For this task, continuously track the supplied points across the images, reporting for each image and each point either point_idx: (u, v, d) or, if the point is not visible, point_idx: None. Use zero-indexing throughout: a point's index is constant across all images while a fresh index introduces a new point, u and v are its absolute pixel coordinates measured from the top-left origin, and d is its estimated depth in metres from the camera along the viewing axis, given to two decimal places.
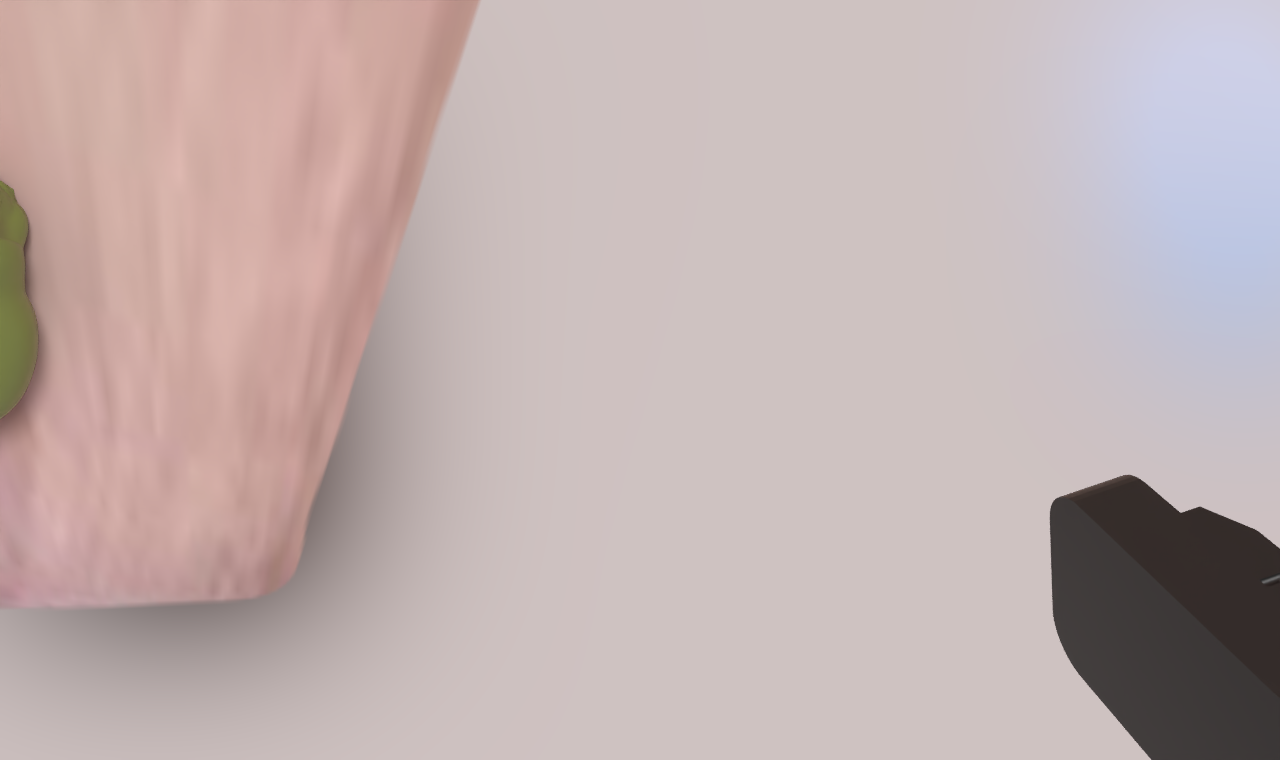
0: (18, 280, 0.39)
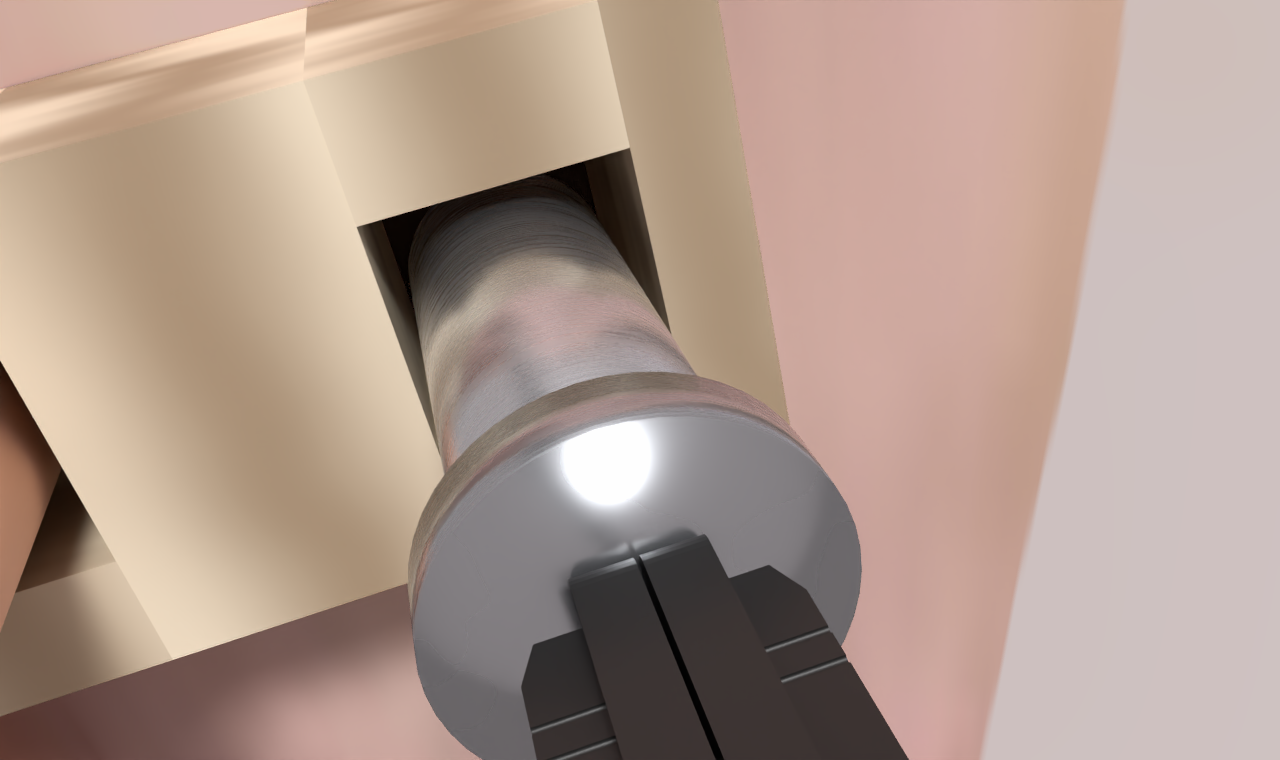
0: None
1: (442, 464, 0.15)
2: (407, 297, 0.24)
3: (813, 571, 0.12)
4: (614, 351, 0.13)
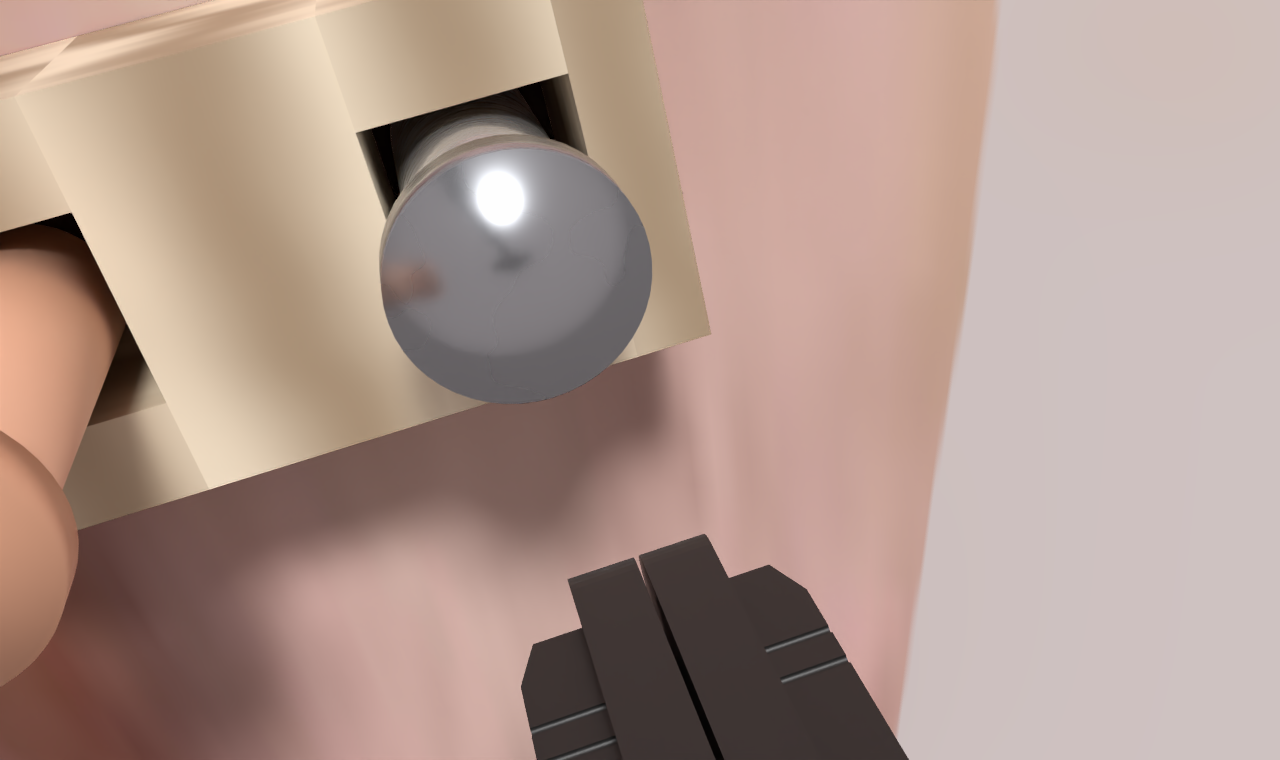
0: None
1: None
2: None
3: (622, 258, 0.20)
4: None
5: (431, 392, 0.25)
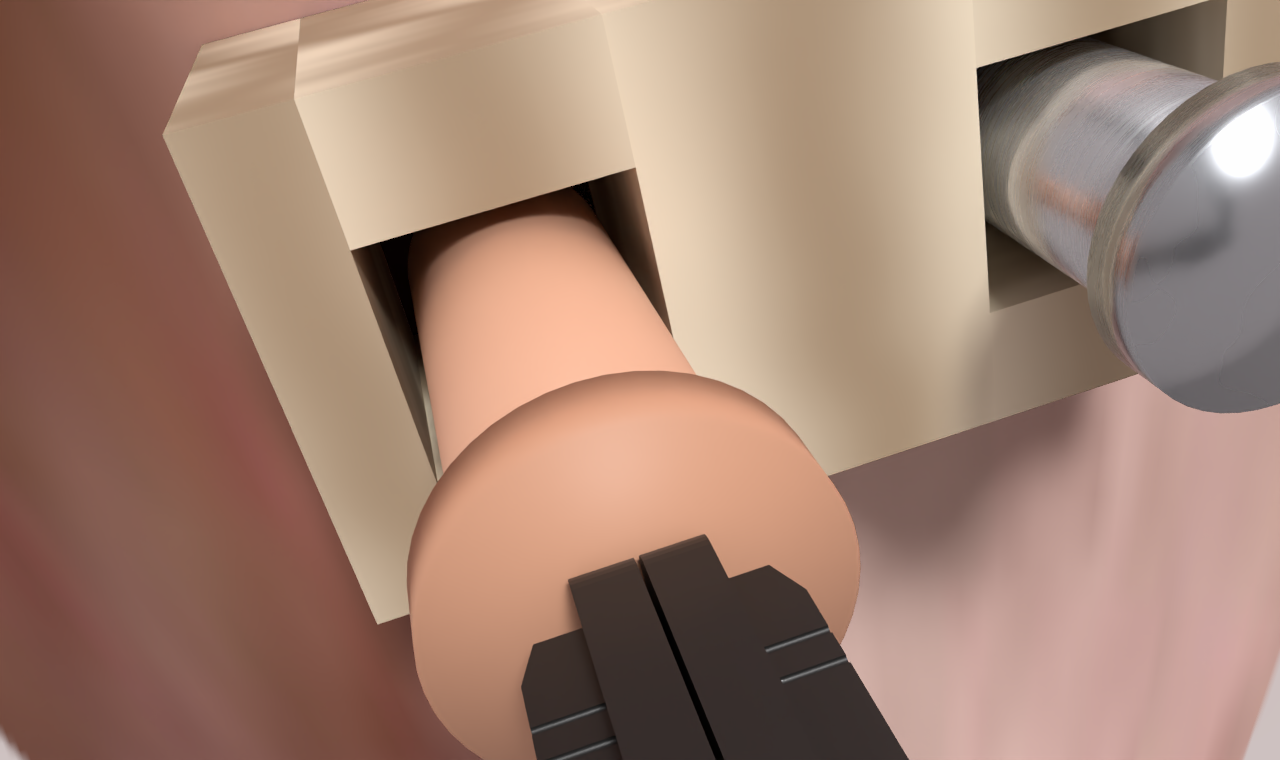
0: None
1: (1027, 187, 0.18)
2: None
3: None
4: (1203, 77, 0.17)
5: (979, 394, 0.21)
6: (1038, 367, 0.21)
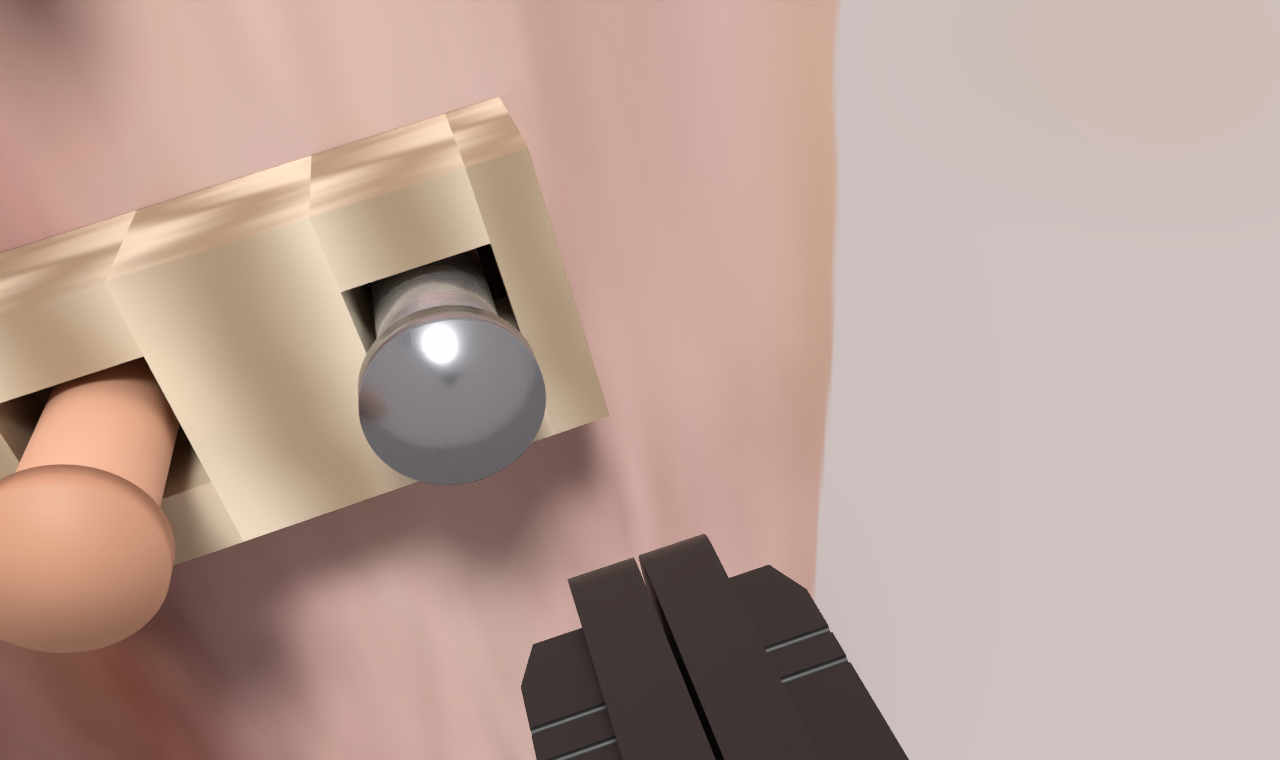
0: None
1: None
2: None
3: (523, 385, 0.29)
4: (448, 299, 0.31)
5: None
6: None
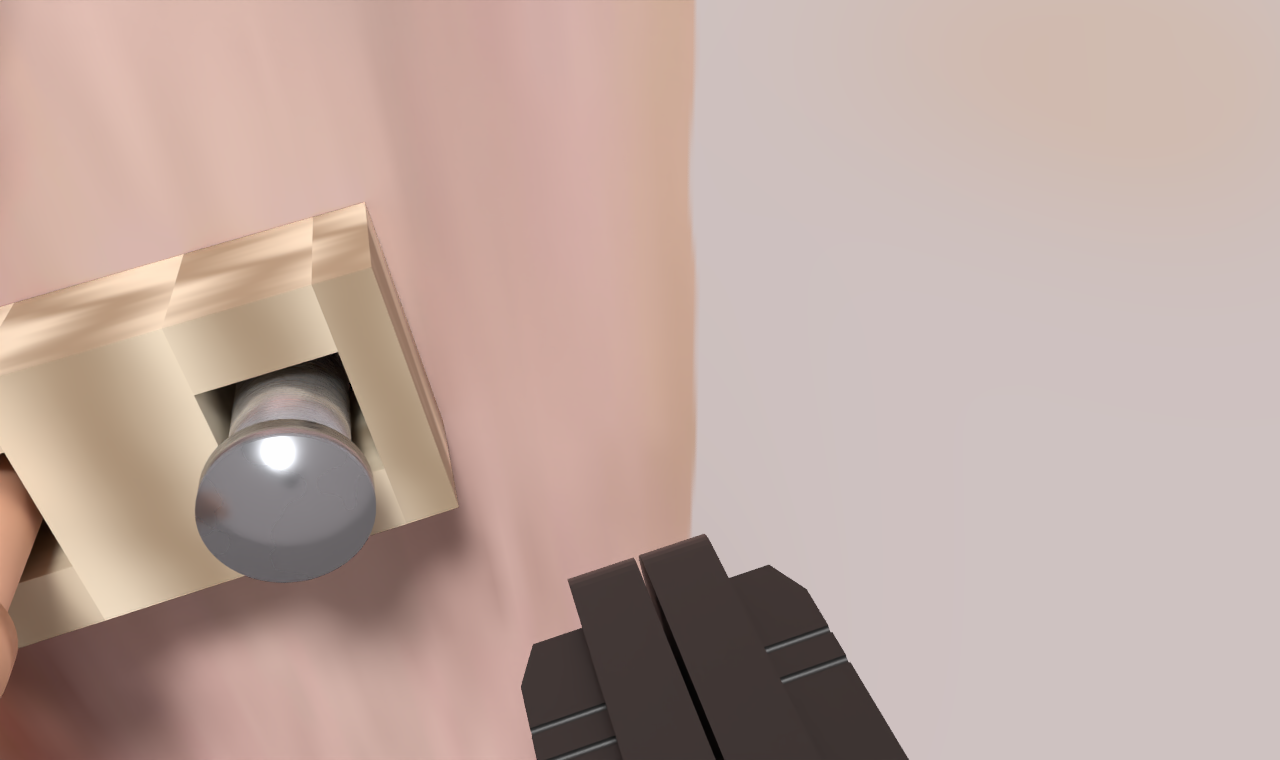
0: None
1: None
2: None
3: (353, 494, 0.32)
4: (291, 407, 0.33)
5: None
6: None
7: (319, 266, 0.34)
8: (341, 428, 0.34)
